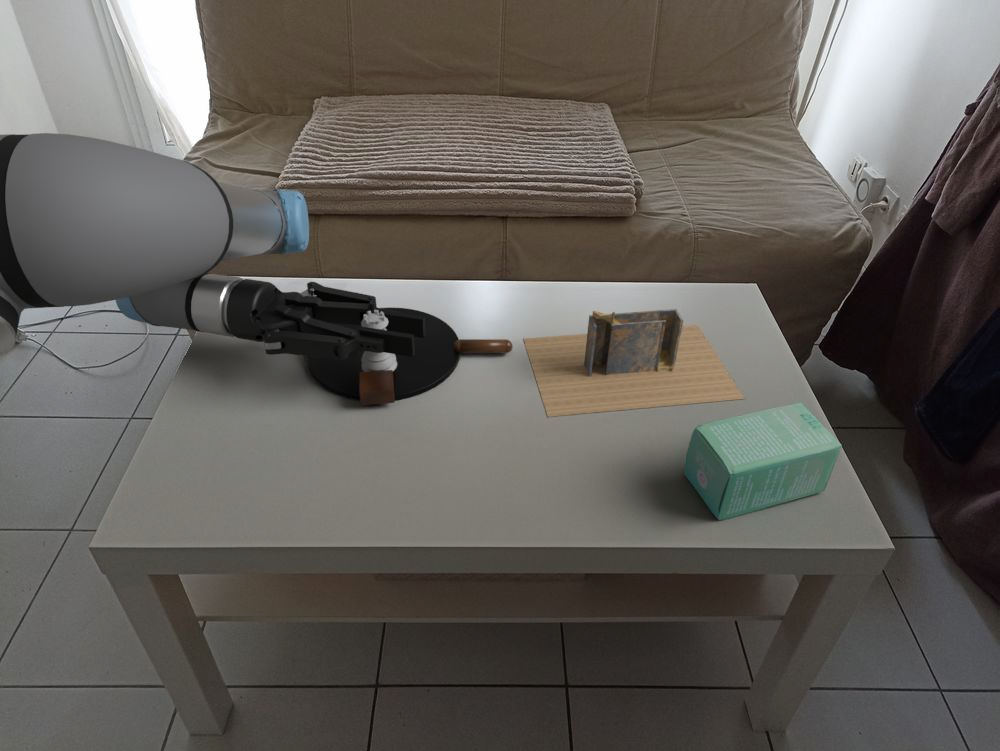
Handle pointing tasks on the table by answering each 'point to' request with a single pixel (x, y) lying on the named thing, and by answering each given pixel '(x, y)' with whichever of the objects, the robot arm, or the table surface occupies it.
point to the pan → (406, 360)
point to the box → (760, 459)
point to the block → (376, 387)
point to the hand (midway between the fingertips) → (418, 336)
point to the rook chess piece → (372, 359)
